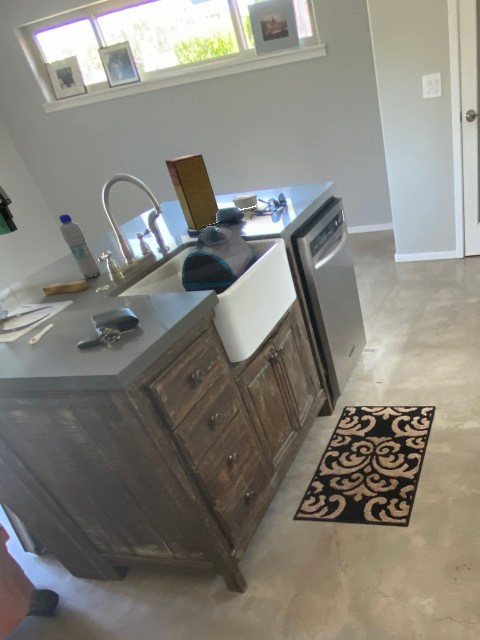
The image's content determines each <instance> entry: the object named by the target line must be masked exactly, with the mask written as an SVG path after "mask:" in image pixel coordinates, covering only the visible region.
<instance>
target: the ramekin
mask: <svg viewBox="0 0 480 640" xmlns="http://www.w3.org/2000/svg"><path fill="white" fill-rule="evenodd" d="M257 197H258V195H257V193H254V192H253V193H243V194H239V195H236V196H234V197H233V198H232V199H231V200H232V202H233V204H234V206H235V208H236V207H238V208H240V209H243V208H248V207H252V206H255V205H256V204H257V206H256V207H257V208H258V199H257ZM256 207H253V208H250V209H244V210H241V211H246V212H250V211H253V210H252V209H254V210H256V209H257V208H256ZM255 208H256V209H255ZM249 210H250V211H249Z"/></svg>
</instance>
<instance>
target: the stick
mask: <svg viewBox="0 0 480 640" xmlns="http://www.w3.org/2000/svg"><path fill="white" fill-rule="evenodd" d="M87 289H89V285H88V283H87V281H86V279H81V280H75V281H67V282H59V283H53V284H52V283H51V284H46V285H44V286H43V287H42V290H43V292H44V294H45V295H46V296H51V295H58V294H66V293H67V294H68V293H75V292H82V291H86V290H87Z"/></svg>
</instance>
